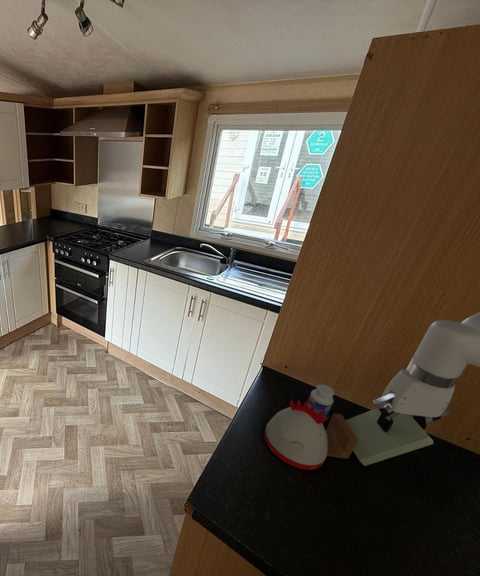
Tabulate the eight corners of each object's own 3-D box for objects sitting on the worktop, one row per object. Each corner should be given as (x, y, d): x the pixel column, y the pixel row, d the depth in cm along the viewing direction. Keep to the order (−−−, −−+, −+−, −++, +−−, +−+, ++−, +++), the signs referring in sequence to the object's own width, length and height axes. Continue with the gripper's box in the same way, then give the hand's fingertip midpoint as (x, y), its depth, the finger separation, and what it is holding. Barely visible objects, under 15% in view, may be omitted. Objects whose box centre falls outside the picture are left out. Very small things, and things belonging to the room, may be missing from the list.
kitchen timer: (312, 481, 74) (333, 437, 67) (254, 441, 83) (268, 400, 77) (332, 447, 82) (353, 406, 75) (277, 414, 91) (292, 375, 85)
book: (401, 406, 80) (396, 400, 80) (435, 443, 71) (429, 436, 70) (341, 429, 87) (336, 423, 86) (364, 466, 77) (358, 460, 77)
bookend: (332, 432, 86) (341, 414, 83) (348, 459, 79) (358, 440, 76) (312, 429, 87) (321, 411, 84) (326, 455, 80) (336, 437, 77)
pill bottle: (299, 411, 93) (309, 386, 88) (310, 404, 95) (320, 380, 91) (318, 424, 88) (330, 399, 84) (329, 417, 91) (341, 392, 86)
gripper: (462, 366, 71) (426, 422, 79) (376, 358, 74) (350, 412, 82) (493, 390, 65) (450, 448, 72) (398, 380, 67) (367, 437, 75)
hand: (397, 429), depth 77 cm, fingers closed on book, 6 cm apart
